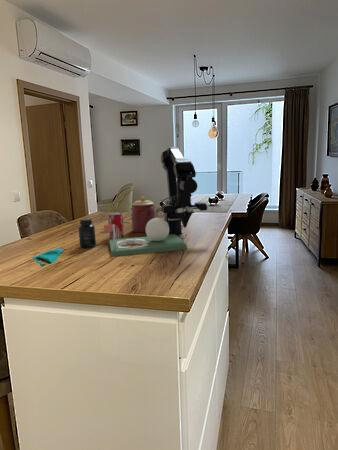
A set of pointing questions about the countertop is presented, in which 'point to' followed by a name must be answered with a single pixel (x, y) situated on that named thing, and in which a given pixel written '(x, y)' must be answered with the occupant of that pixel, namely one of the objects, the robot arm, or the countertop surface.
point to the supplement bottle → (87, 234)
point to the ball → (157, 229)
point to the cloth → (49, 256)
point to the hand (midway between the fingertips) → (184, 227)
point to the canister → (142, 214)
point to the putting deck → (143, 244)
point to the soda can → (116, 225)
